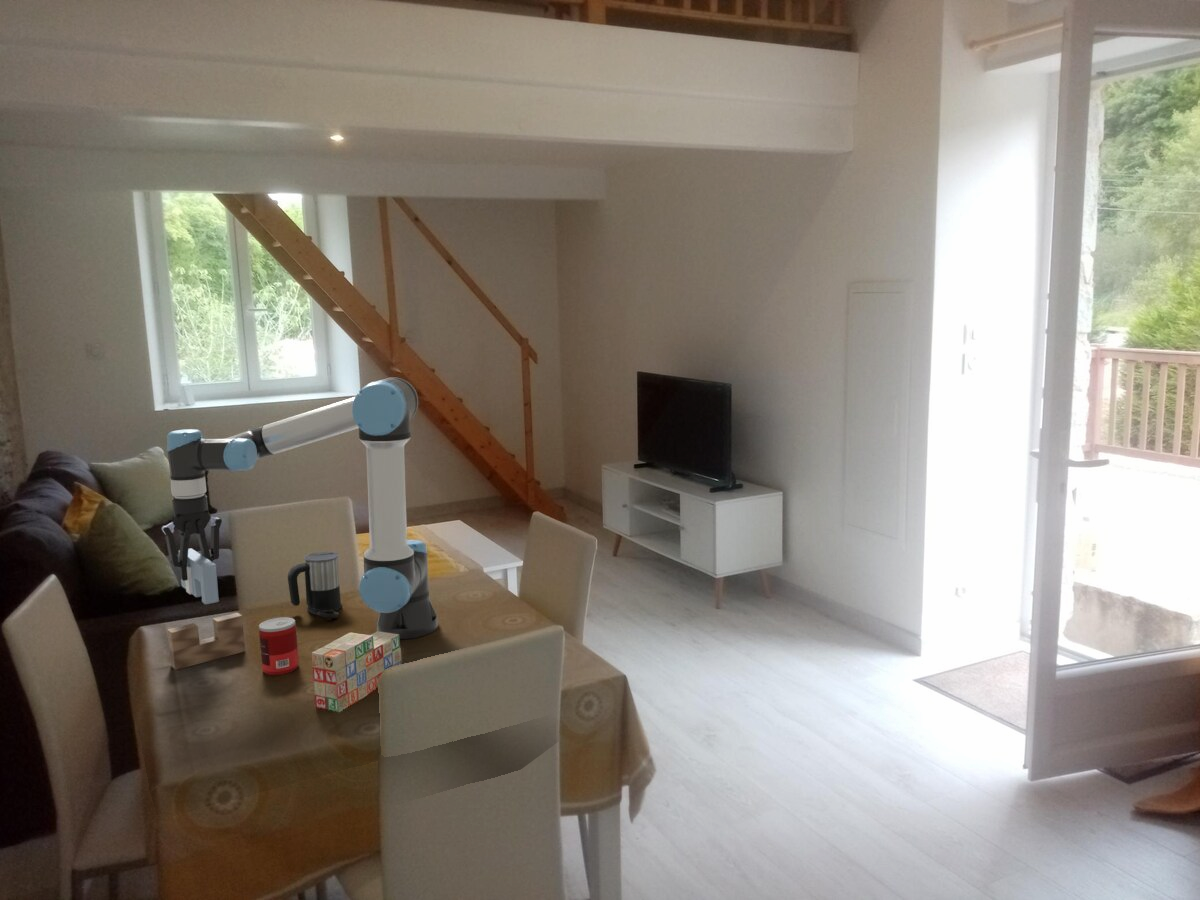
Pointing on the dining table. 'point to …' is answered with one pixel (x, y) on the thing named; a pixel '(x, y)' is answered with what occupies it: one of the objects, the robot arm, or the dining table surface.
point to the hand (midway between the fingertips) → (197, 590)
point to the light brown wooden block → (206, 642)
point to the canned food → (278, 645)
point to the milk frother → (318, 584)
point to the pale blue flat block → (202, 577)
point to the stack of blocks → (352, 667)
